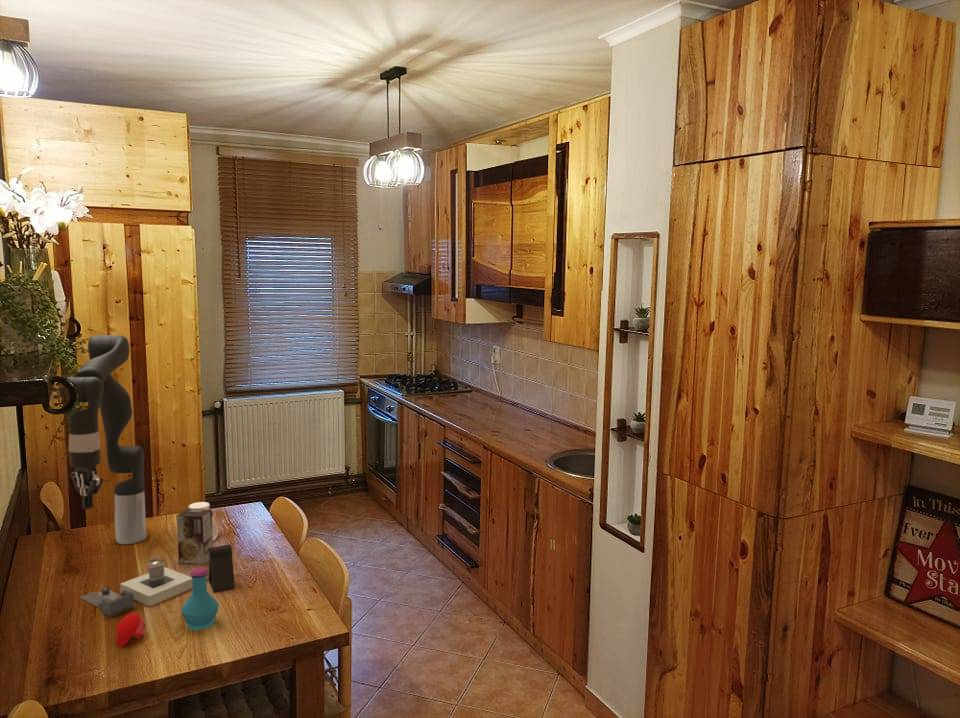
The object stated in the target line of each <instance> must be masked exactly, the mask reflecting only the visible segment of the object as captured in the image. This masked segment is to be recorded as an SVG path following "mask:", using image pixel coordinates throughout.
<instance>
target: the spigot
mask: <svg viewBox="0 0 960 718" xmlns="http://www.w3.org/2000/svg"><path fill="white" fill-rule="evenodd" d="M165 564H166V561H165V558H161V557H159V558H158V557H157V558H152V559H150V560H147V564H146V565H147V568H148V573H149V584H150V587H151V588H156V587H158V586H161V585H163V584H165V581H164V567H165Z"/></svg>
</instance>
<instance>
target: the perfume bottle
mask: <svg viewBox="0 0 960 718" xmlns="http://www.w3.org/2000/svg"><path fill="white" fill-rule="evenodd" d="M208 574H209V569H207V568H206V567H201V566H200V567H196V568H194V569H192V570H191V571H190V572H189V575H190V577H191V578H192V589H191V590H192V593H191V595H190V596H189V597H188V599H187V600H186V601H185V603H184V604H183V606H182V607H181V616H182V617H183V619H184V622H185V623H186V624H187V625H186V627H187V628H188V629H189V628H190V629H189V630H191V629H192V631H201V630H205V629H208V628H210V627H212V626H213V625H214V623H215V619H216V615H217V613H218V612H219V607H220V606H219V603H220V602H219V601H217V600H216V599H215V597H213V596H212V595H211V594H210V593H209V591H208V583H207V582H208Z"/></svg>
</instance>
